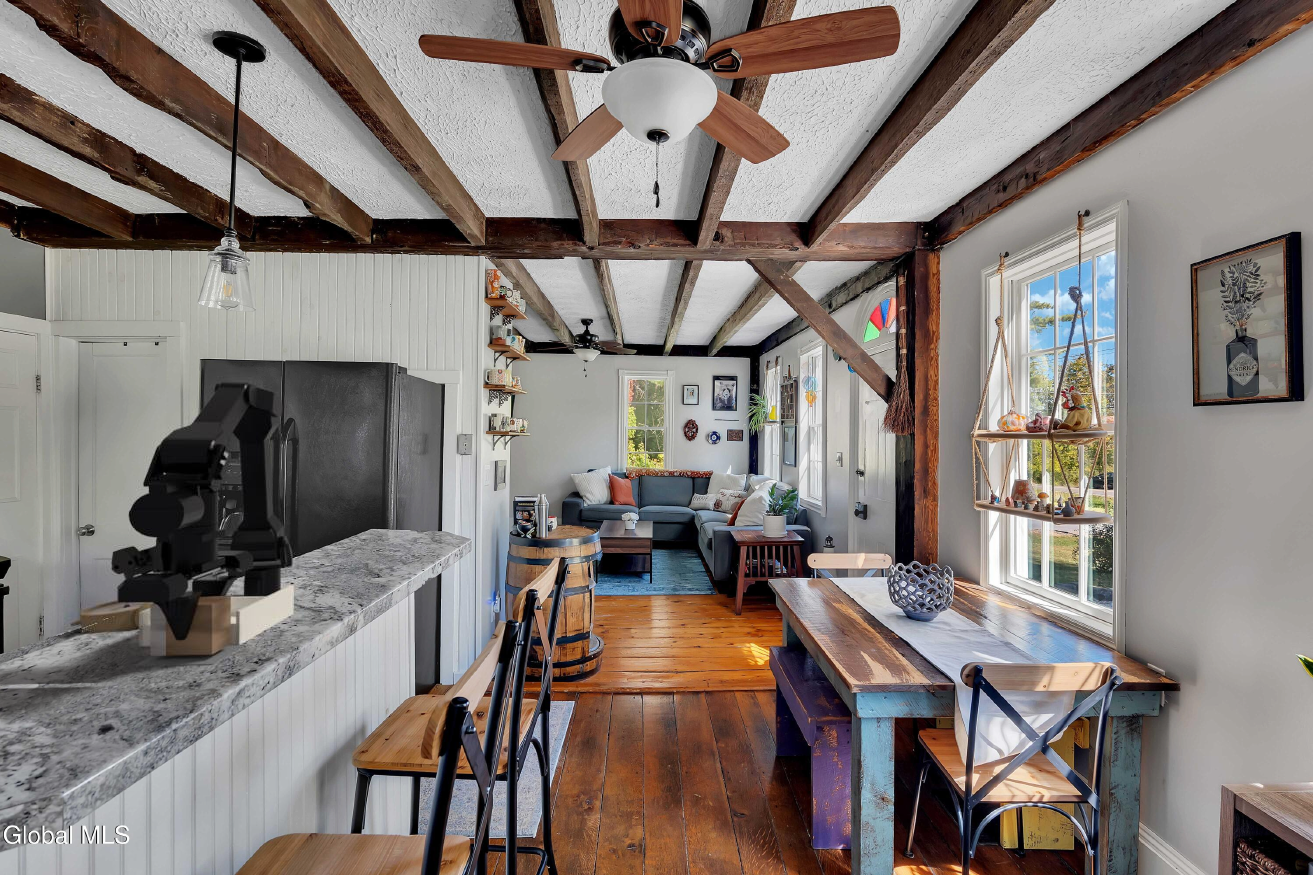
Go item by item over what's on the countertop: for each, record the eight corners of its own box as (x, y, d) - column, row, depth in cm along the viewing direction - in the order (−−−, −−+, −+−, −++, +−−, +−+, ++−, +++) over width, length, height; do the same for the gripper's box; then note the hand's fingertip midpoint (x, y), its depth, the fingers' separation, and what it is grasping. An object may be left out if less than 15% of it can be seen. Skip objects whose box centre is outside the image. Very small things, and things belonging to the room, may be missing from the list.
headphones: (111, 598, 101) (206, 581, 104) (117, 626, 101) (212, 607, 104) (57, 619, 90) (165, 598, 93) (63, 650, 90) (171, 628, 93)
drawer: (208, 617, 101) (208, 585, 100) (293, 616, 102) (293, 584, 102) (138, 649, 86) (139, 612, 86) (239, 647, 87) (239, 611, 87)
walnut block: (172, 644, 84) (172, 595, 84) (230, 643, 85) (231, 595, 85) (150, 655, 80) (150, 604, 80) (211, 654, 81) (211, 603, 81)
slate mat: (172, 650, 85) (172, 646, 85) (244, 649, 86) (244, 644, 86) (133, 669, 78) (133, 665, 78) (212, 668, 79) (212, 663, 79)
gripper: (180, 514, 91) (179, 614, 91) (70, 536, 72) (70, 661, 72) (255, 515, 92) (254, 613, 92) (166, 536, 73) (165, 660, 73)
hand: (192, 634), depth 82 cm, fingers closed on walnut block, 4 cm apart
